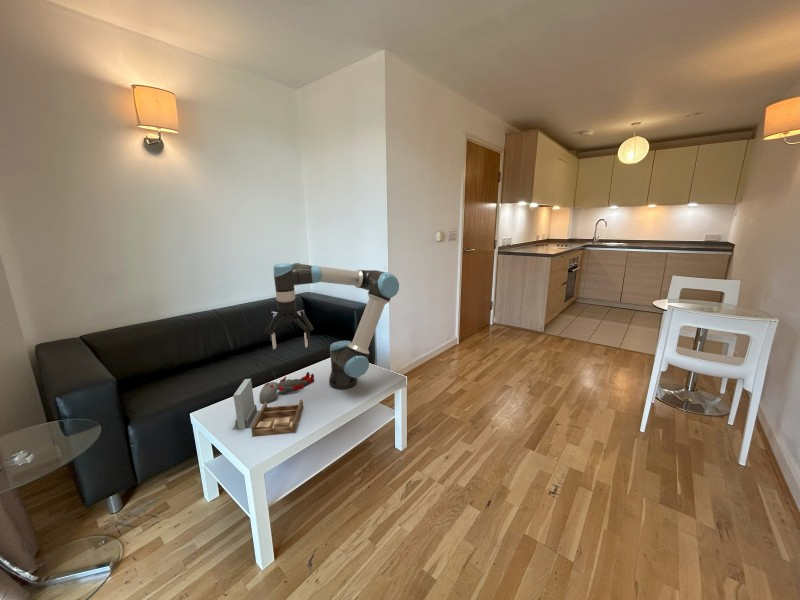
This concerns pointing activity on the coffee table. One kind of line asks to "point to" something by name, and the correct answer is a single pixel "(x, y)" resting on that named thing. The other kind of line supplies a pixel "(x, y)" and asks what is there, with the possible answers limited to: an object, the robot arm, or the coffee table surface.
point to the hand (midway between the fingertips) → (290, 347)
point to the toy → (283, 387)
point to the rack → (277, 413)
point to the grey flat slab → (243, 402)
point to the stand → (249, 418)
